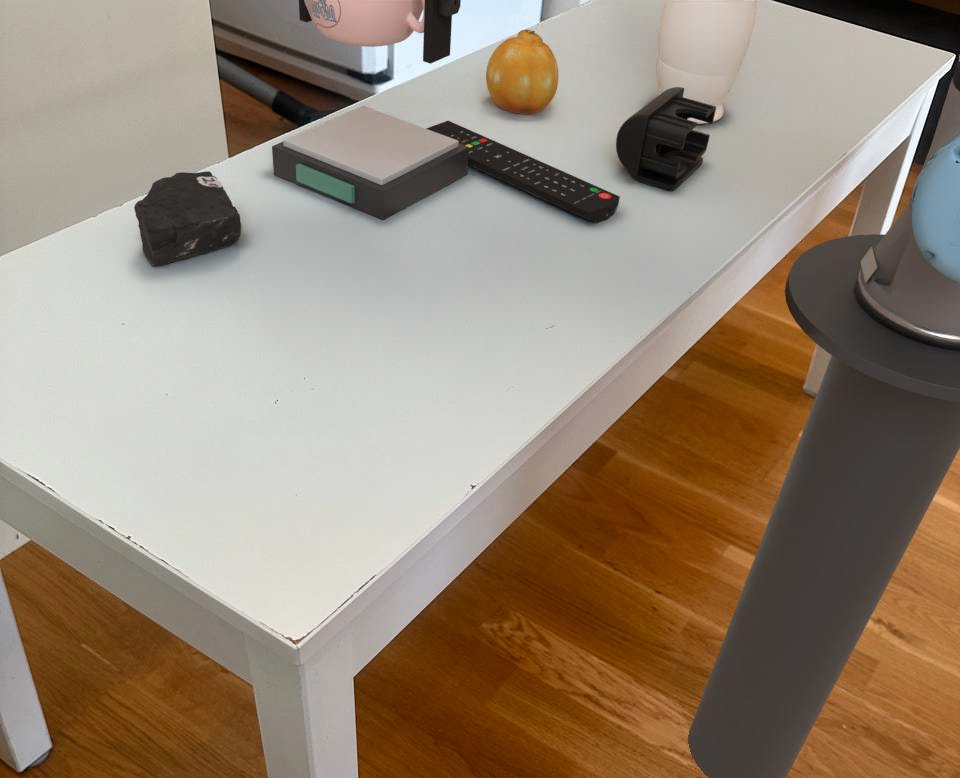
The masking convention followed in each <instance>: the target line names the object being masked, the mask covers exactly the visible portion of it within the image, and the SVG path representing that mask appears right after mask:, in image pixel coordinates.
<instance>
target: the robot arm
mask: <svg viewBox="0 0 960 778" xmlns="http://www.w3.org/2000/svg"><path fill="white" fill-rule="evenodd" d="M460 8H461V0H425V10H424V33H423V41H422V42H423V43H422V45H423V47H422V48H423V49H422V62H424V63H428V64H430V65H431V64H433V63H436V62H438V61H440V60H443V59H445V58H447V57H449V56H450V55H451V43H452V23H453V16H454V15H456V14H459V12H460ZM298 15H299V21H301V22H304V23H309V22H313V21H312V19H311V16H310V14H309V11H308V9H307V6H306V4H305V1H304V0H298ZM936 125H937V126H936V129H935V132H934V135H933V139H932V141H931V145H930V148H929V150H928V153H927V155H926V158H925V160H924V164H923V165H922V168H921V170H920V172H919V174H918V176H917V178H916V181H915V184H914V186H913V188H912V193H911V196H910V199H909V201H908V203H907V205H906V207H905V208H904V209H903V211H902V212H901V213H900V214H899V216H898V218H897V219H896V220H895V221H894V222H893V223H892V225H891V226H890V227H889V229H888V230H887V231H886V232H885V234H883V235H884V237H883V238H882V239H881V240H880V242H879V243H878V244H877V246H876V247H875V248H874V249H872V247H871V248H870V249H869V251H868V252H867V253H866V255H865V256H864V258H863V259H862V260H861V266H862V267H861V269H860V272H859V274H858V277H857V280H856V282H855V286H854V292H855V296H856V299H857V301H858V303H859V304H860V306H861V307H862V308H863V309H864V311H865V312H866V313H867V314H868V315H870V316H871V317H872V318H873V319H874V320H876V321H877V322H878V323H880V324H881V325H883V326H884V327H886V328H888V329H889V330H891V331H893V332H895V333H897V334H899V335H901V336H903V337H906V338H908V339H911V340H913V341H916V342H919V343H922V344H925V345H929V346H932V347H936V348H941V349H946V350H952V351H959V352H960V55H959V56H958V60H957V63H956V66H955V69H954V72H953V76H952V78H951V81H950V83H949V87H948V91H947V94H946V97H945V99H944V103H943V107H942V110H941V113H940V116H939V119H938V122H937V124H936Z"/></svg>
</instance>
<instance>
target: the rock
mask: <svg viewBox="0 0 960 778" xmlns="http://www.w3.org/2000/svg"><path fill="white" fill-rule="evenodd" d="M133 206H134V207H133V208H134V213H135V217H136V219H137V222H138V225H137V226H138V229H139V233H140V236H139V237H140V240H141V245H142V247H141V249H142V253H143V255H144V257H145V259H146V260H147V262H148V263H149V264H150V265H151V266H158V265H159V266H160V265H166V264H170V263H174V262H177V261H180V260H182V259H186V258H187V259H188V258H191V257H194V256H197V255H198V256H199V255H205V254H208V253H211V252H215V251H217V250H220V249H223V248H226V247H229V246H231V245H234V243H236V242H237V241H238V240H239V239H240V236H241V234H242V221H241V215H240V212H239V211H238V209H237V208H236V206H235V205H233V202H232V200H231V199H230V197H229V195H228V194H227V191H226V190H225V189H224V186H223V185H222V183H221V182H220V181H219V178H218V177H217V176H215V175H213V173H212V172H211V171H201V172H183V171H182V172H175V174H173V175H172V176H168V177H167V176H165V177H162V178H160V179H157V180H155V181H154V182H153V183H152V184H151V187H150V189H149V191H148V193H146V196H144V197H143V198H142V199H140V200H138V201H137V202H135V204H134V205H133Z"/></svg>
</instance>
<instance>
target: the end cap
mask: <svg viewBox="0 0 960 778" xmlns="http://www.w3.org/2000/svg"><path fill="white" fill-rule="evenodd" d="M683 93H684V88H681V87H673V88H670V89H667V90H666V91H664V92H662V93H661V94H660V95H659V94H657V96H656V97H654V98H653V99H652V100H650V101H649V102H647V104H645V105H644V106H643V107H642V108H640V109H639V110H638V111H636V112H635V113H633V114H632V115H631V116H630V117H629V118H627V119H626V120H625V121H624V122H623V123H622V125H621V126H620V127H619V130H618V132H617V135H616V137H615V149H616V155H617V158H618V160H619V162H620V164H621V165H622V166H623V168H624V169H625V170H626V171H627V173H629V175H630V176H631V178H632V179H634V180H635V181H637V182H639V183H641V184H645V185H647V186H651V187H655V188H658V189H661V190H664V191H666V192H667V191H668V192H673V191H675V190H676V189H677V188H678V187H680V185H682V184H683V183H684V182H685V181H686V180H687V179H688V178H689V177H690V176H691V175H692V174H693V173H694V172H695V171H697V170H698V169H699V168H700V167H701V166H702V164H703V162H704V161H703V160H704V158H703V157H702V156H703V155H704V154H705V153H706V151H707V148H708V145H709V141H710V137H711V135H710V134H708V133H704V132H701V131H699V130H698V131H697V130H694V129H695V128H696V127H697V124H696V123H697V122H694V121H690V120H687V119H688V118H694V119H697V120H701V121H704V122H708V123H707V124H713V123H714V122H713V120H714V116H715V111H716V106H712V105H709V104H705V103H702V102H698V101H694V100H691V99H687V98H684V97H683Z"/></svg>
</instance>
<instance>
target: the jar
mask: <svg viewBox="0 0 960 778" xmlns="http://www.w3.org/2000/svg"><path fill="white" fill-rule="evenodd" d="M757 6H758V0H664V3H663V7H662V11H661V15H660V18H659V19H660V20H659V26H658V33H657V56H656V81H657V87H658V91H659V93H658V95H660V94H661V93H662V92H664V91H666V90H667V89H670V88H673V87H681V88H684V93H683V97H684V98H687V99H691V100H694V101H698V102H702V103H705V104H709V105H712V106H716V111H715V116H714V120H713V123H714V122H717V121H718V120H720V119H722V117H723V116H724V112H725V111H724V110H725V109H724V105H723V101H724V100H725V99H726V97H727V96H728V95H729V93H730V91H731V90H732V88H733V86H734V84H735V82H736V79H737V77H738V74H739V72H740V68H741V66H742V64H743V62H744V60H745V58H746V54H747V53H748V49H749V46H750V43H751V39H752V36H753V32H754V26H755V24H756V23H755V22H756V16H757V8H758V7H757ZM687 120H690V121H694V122H697V123H696V125H702V124H703V125H704V124H705V125H706V124H709V123H708V122H704V121H701V120H697V119H694V118H688V119H687Z"/></svg>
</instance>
